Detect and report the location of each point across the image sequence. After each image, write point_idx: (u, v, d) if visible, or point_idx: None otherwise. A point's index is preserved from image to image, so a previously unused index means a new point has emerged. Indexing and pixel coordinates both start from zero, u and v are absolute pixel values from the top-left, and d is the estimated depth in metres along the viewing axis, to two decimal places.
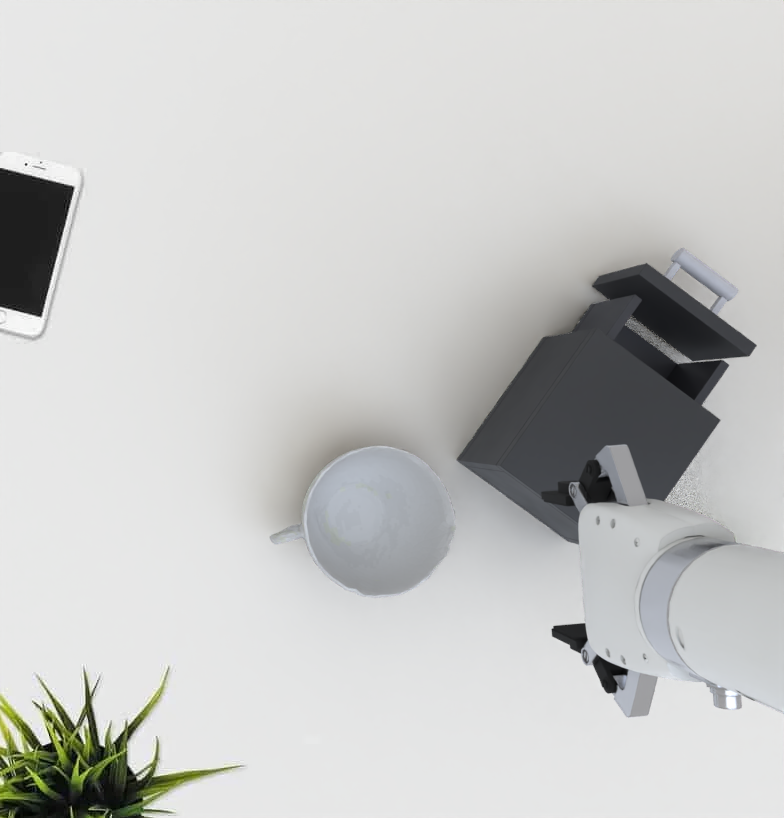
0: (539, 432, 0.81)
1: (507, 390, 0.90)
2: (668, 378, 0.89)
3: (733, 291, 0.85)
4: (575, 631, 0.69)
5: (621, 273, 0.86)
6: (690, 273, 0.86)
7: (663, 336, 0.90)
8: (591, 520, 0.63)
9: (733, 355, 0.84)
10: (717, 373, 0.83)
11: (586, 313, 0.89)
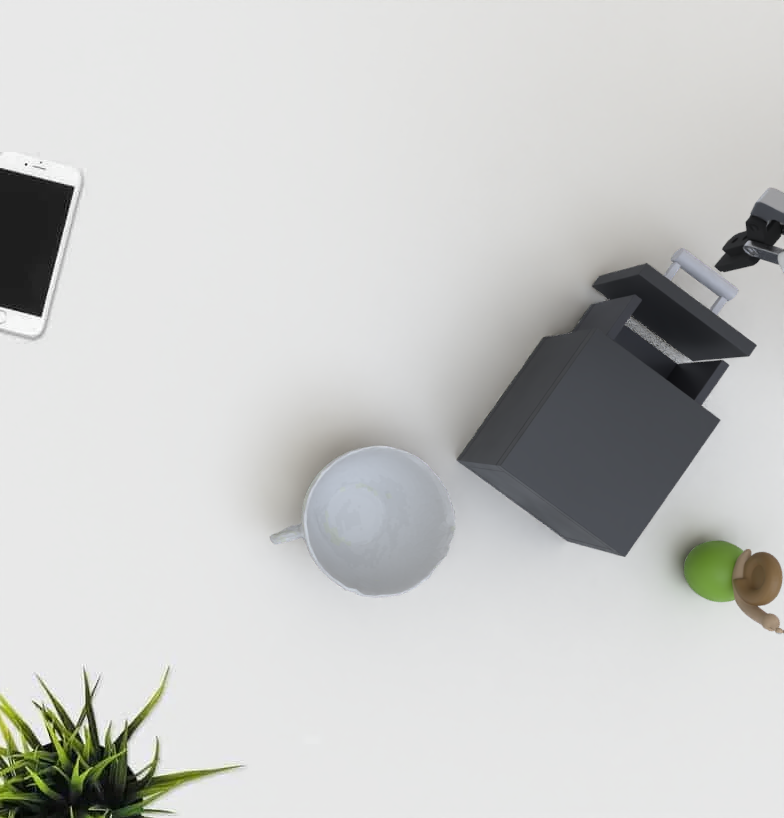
0: (539, 432, 0.81)
1: (507, 390, 0.90)
2: (668, 378, 0.89)
3: (733, 291, 0.85)
4: None
5: (621, 273, 0.86)
6: (690, 273, 0.86)
7: (663, 336, 0.90)
8: None
9: (733, 355, 0.84)
10: (717, 373, 0.83)
11: (586, 313, 0.89)
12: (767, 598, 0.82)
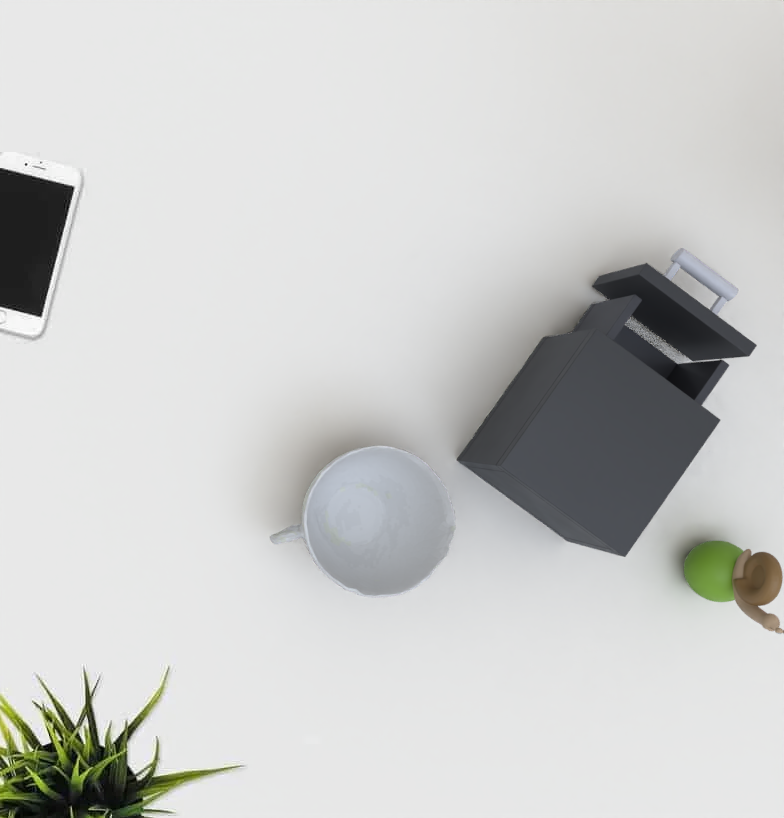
0: (539, 432, 0.81)
1: (507, 390, 0.90)
2: (668, 378, 0.89)
3: (733, 291, 0.85)
4: None
5: (621, 273, 0.86)
6: (690, 273, 0.86)
7: (663, 336, 0.90)
8: None
9: (733, 355, 0.84)
10: (717, 373, 0.83)
11: (586, 313, 0.89)
12: (767, 598, 0.82)
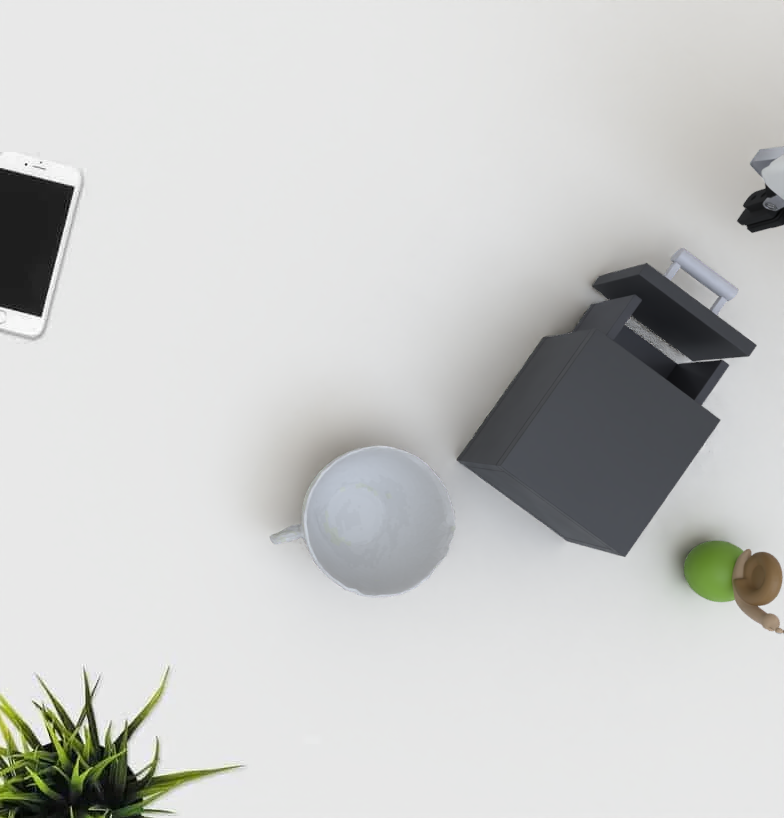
0: (539, 432, 0.81)
1: (507, 390, 0.90)
2: (668, 378, 0.89)
3: (733, 291, 0.85)
4: None
5: (621, 273, 0.86)
6: (690, 273, 0.86)
7: (663, 336, 0.90)
8: (780, 178, 0.75)
9: (733, 355, 0.84)
10: (717, 373, 0.83)
11: (586, 313, 0.89)
12: (767, 598, 0.82)
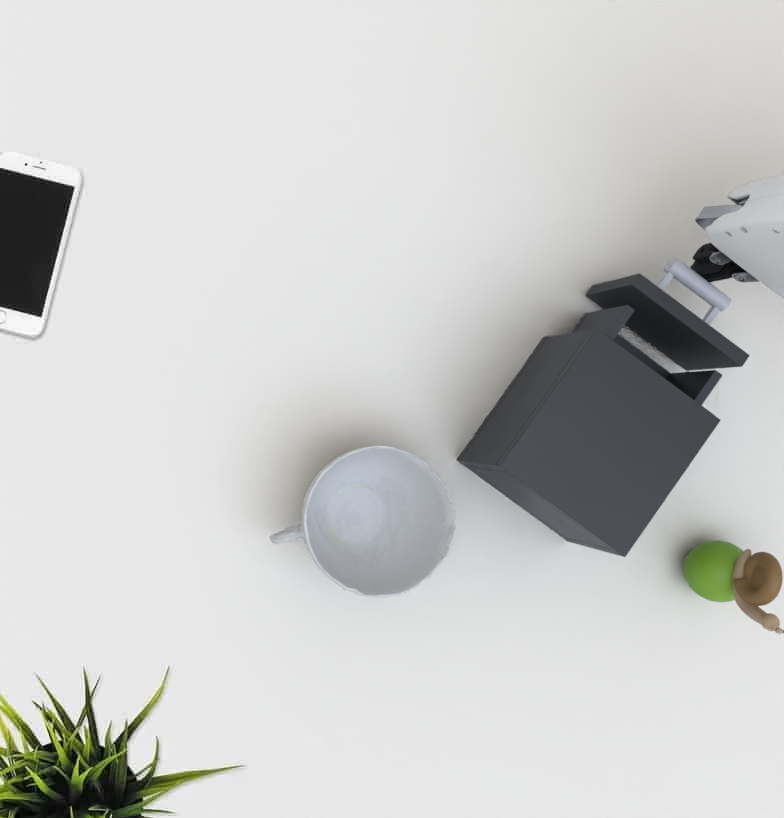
0: (539, 432, 0.81)
1: (507, 390, 0.90)
2: None
3: (727, 301, 0.85)
4: None
5: (614, 283, 0.86)
6: (683, 283, 0.85)
7: (657, 345, 0.90)
8: (722, 237, 0.77)
9: (726, 365, 0.84)
10: (710, 383, 0.83)
11: (579, 322, 0.89)
12: (767, 598, 0.82)
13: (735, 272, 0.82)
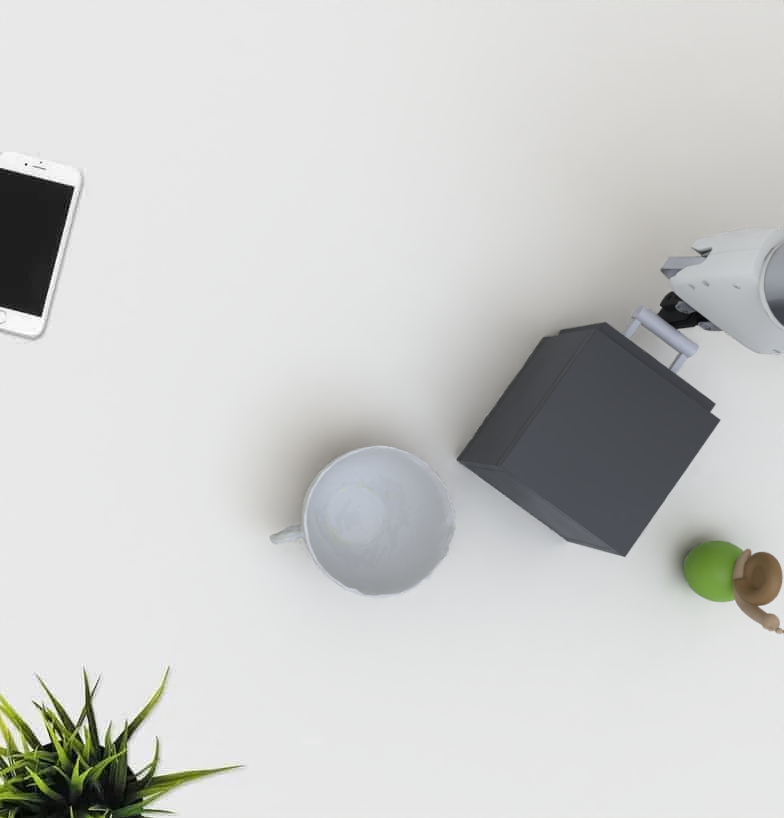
0: (539, 432, 0.81)
1: (507, 390, 0.90)
2: None
3: (693, 348, 0.85)
4: None
5: (581, 329, 0.86)
6: (650, 330, 0.85)
7: None
8: (685, 288, 0.77)
9: None
10: None
11: None
12: (767, 598, 0.82)
13: (701, 321, 0.82)
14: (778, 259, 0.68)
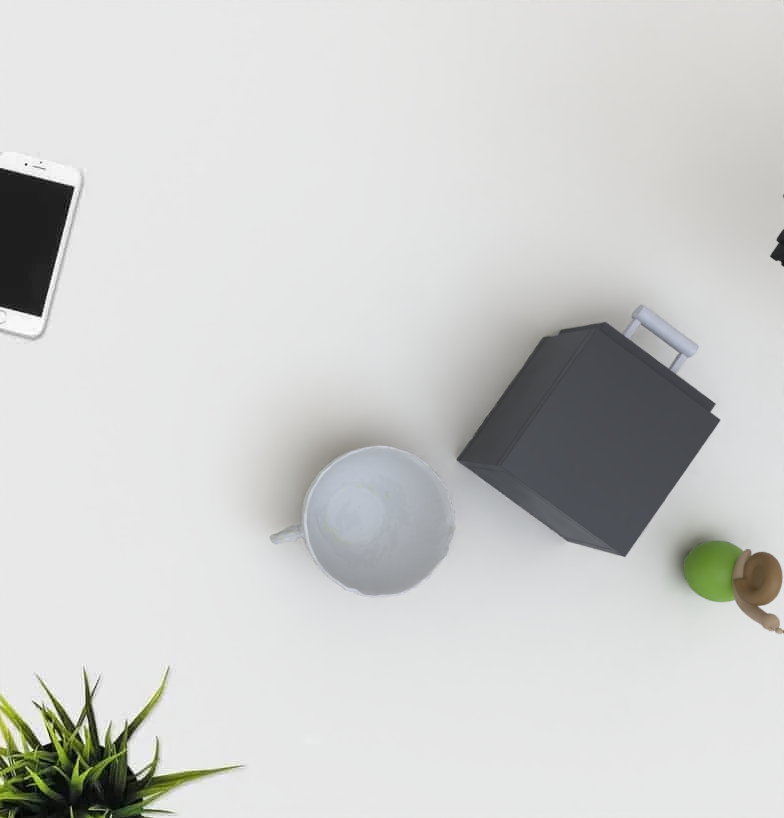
0: (539, 432, 0.81)
1: (507, 390, 0.90)
2: None
3: (693, 348, 0.85)
4: None
5: (581, 329, 0.86)
6: (650, 330, 0.85)
7: None
8: None
9: None
10: None
11: None
12: (767, 598, 0.82)
13: None
14: None
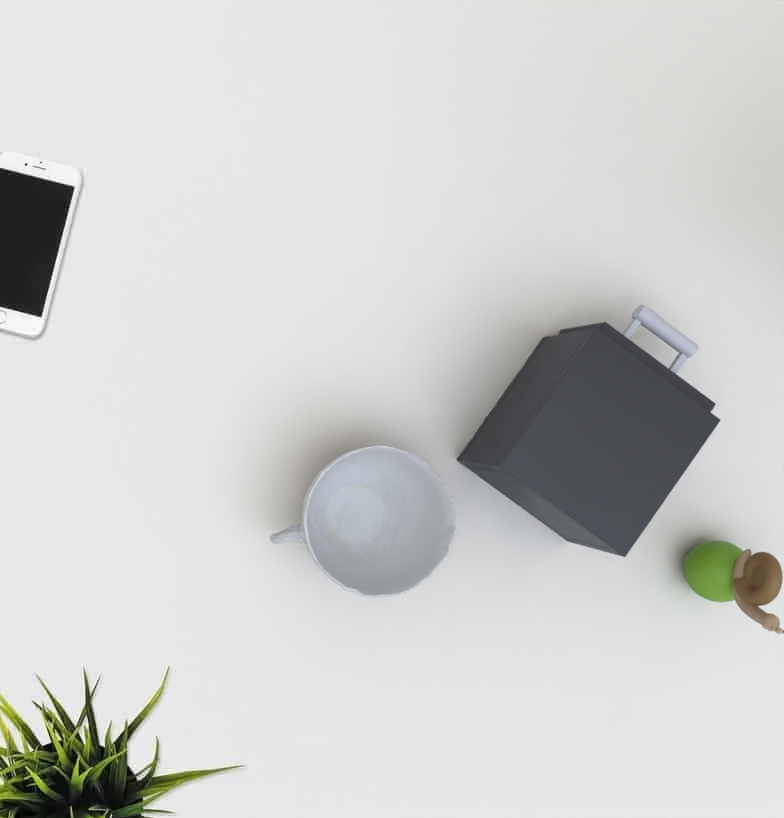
0: (539, 432, 0.81)
1: (507, 390, 0.90)
2: None
3: (693, 348, 0.85)
4: None
5: (581, 329, 0.86)
6: (650, 330, 0.85)
7: None
8: None
9: None
10: None
11: None
12: (767, 598, 0.82)
13: None
14: None
